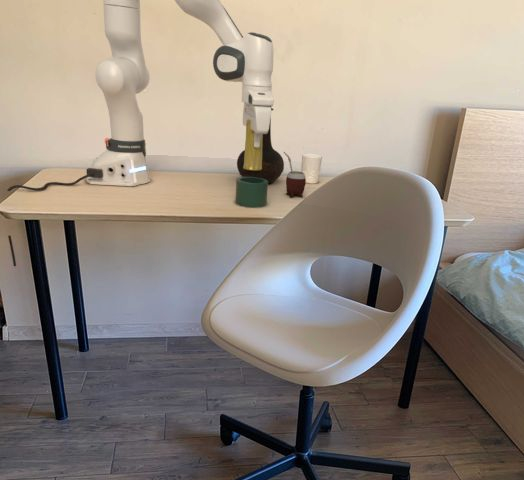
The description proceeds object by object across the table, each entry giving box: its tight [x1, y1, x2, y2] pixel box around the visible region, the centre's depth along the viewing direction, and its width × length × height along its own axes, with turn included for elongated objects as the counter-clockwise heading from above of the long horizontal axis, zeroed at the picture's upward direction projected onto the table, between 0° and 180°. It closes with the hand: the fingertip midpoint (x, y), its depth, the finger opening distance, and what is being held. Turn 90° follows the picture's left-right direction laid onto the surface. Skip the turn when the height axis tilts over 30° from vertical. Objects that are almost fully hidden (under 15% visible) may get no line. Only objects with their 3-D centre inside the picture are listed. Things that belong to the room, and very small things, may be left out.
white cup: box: [300, 153, 323, 185], centre depth 202 cm, size 8×8×10 cm
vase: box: [243, 120, 263, 171], centre depth 160 cm, size 6×6×14 cm
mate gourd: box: [283, 151, 307, 199], centre depth 178 cm, size 8×8×15 cm
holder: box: [235, 176, 269, 208], centre depth 168 cm, size 10×10×8 cm
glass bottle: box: [236, 106, 285, 185], centre depth 192 cm, size 18×18×28 cm
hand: (253, 145), depth 160 cm, fingers closed on vase, 5 cm apart
